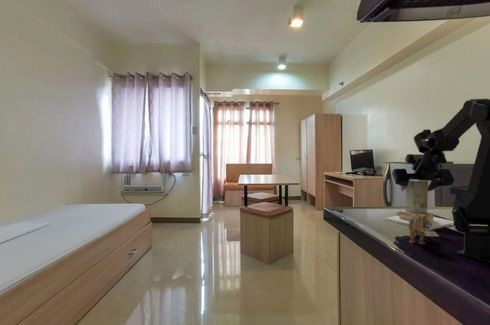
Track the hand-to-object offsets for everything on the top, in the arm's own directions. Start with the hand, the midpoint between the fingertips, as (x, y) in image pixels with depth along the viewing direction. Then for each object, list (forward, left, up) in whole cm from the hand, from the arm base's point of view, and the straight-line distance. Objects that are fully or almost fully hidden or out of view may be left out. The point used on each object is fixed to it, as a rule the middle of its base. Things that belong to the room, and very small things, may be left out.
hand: (414, 190), depth 102 cm
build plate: (0, -2, -12) cm, 12 cm away
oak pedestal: (-1, -1, -12) cm, 12 cm away
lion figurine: (-22, -15, -12) cm, 29 cm away
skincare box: (-1, -1, -8) cm, 8 cm away
